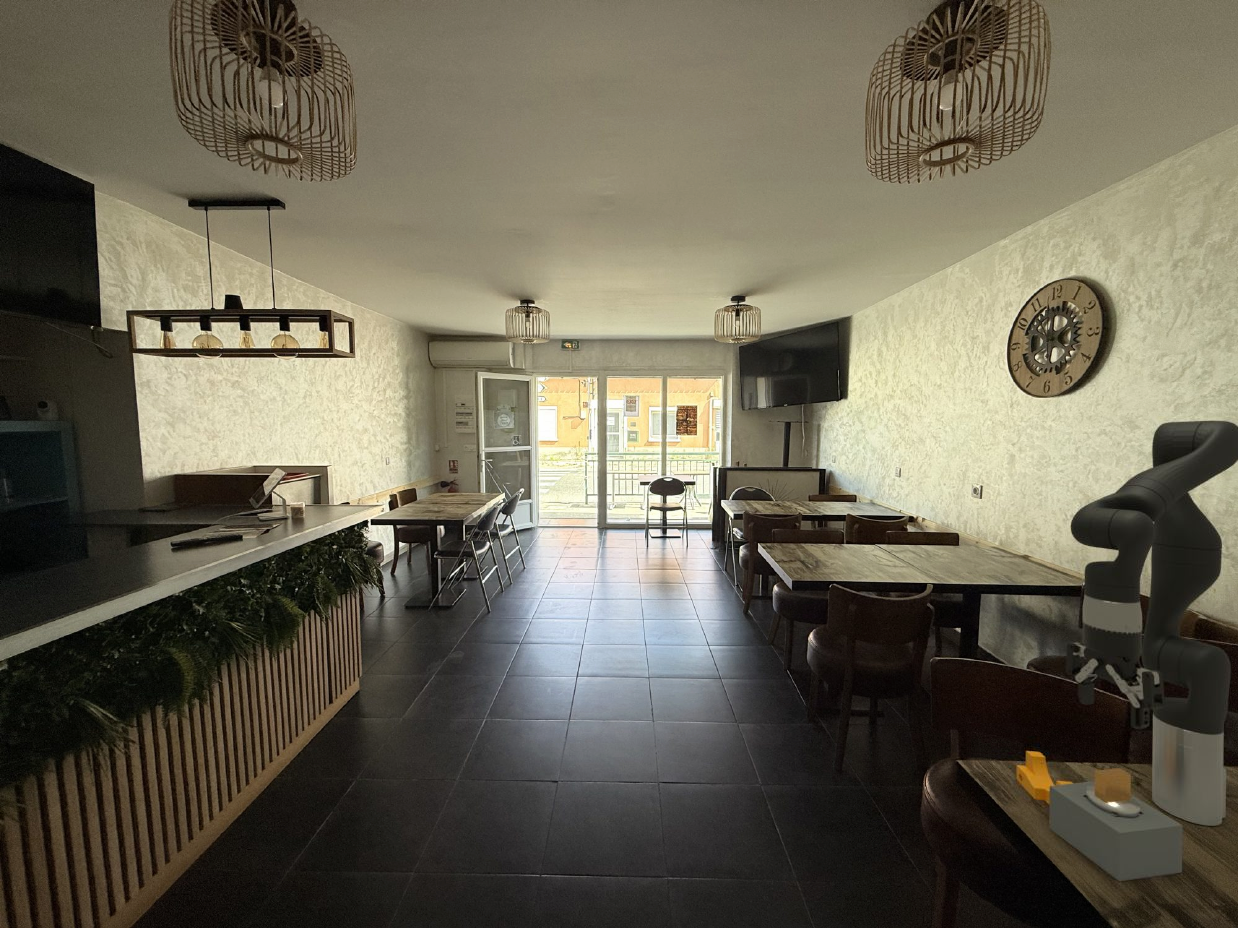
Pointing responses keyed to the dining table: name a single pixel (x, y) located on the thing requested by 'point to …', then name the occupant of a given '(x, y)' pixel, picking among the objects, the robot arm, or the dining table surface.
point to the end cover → (1113, 793)
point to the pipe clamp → (1036, 776)
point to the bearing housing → (1116, 834)
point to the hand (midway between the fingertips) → (1111, 714)
